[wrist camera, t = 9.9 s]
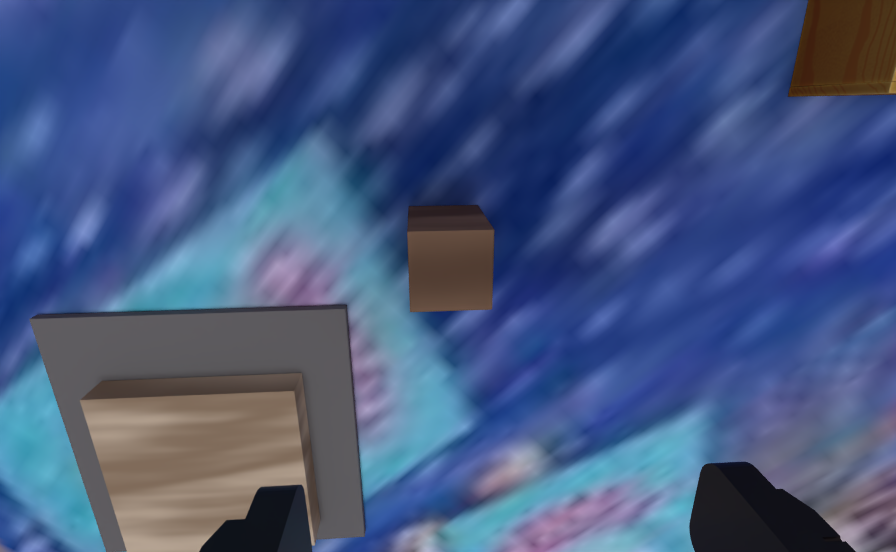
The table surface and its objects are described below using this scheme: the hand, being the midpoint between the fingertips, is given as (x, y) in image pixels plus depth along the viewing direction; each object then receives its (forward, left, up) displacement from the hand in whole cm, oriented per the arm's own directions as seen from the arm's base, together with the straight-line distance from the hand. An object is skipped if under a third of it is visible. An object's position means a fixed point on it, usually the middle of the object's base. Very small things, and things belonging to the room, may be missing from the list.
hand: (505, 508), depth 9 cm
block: (0, 0, -20) cm, 20 cm away
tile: (+8, -15, -18) cm, 25 cm away
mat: (+13, -15, -20) cm, 28 cm away
